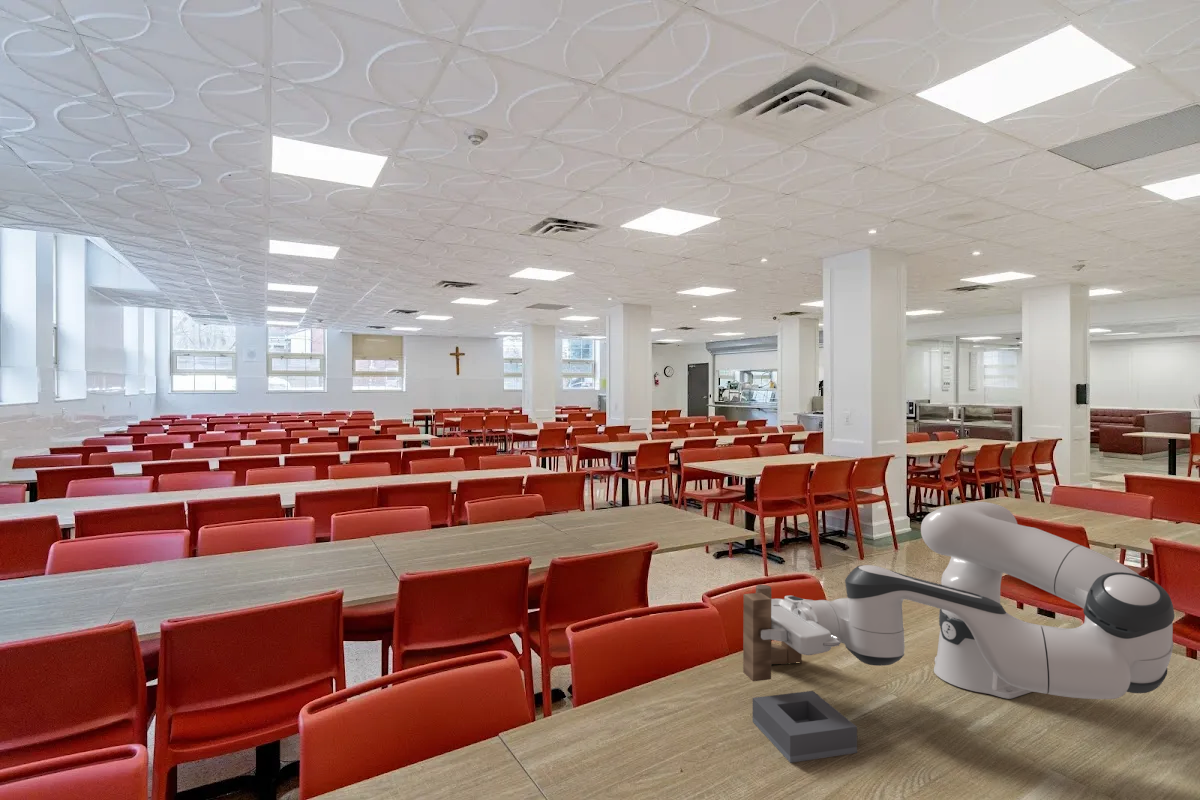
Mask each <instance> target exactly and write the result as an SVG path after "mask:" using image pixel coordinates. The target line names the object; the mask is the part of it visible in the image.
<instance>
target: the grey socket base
mask: <svg viewBox="0 0 1200 800" xmlns="http://www.w3.org/2000/svg"><path fill="white" fill-rule="evenodd" d="M752 723H753V724H754V725H755V726H756V727H757V728H758V729H759V731H760V732H761V733H762V734H763V735H764V736H765V737H766V738H767V739H768V740H769V741H770V742H771V743H772V744H773V746H774V747H775V748H776V749H777V750H778V751H779V753H781V754H782V756H783V757H784V758H786V760H787V762H789V763H791V764H792V763H797V762H799V763H800V762H804V761H805V762H806V761H812V760H818V759H823V758H830V757H838V756H845V755H853V754H857V753H858V726H857V725H856V724H854V723H853V722H852V721H850V720H849V719H848V718H847V717H846V716H845V715H843V714H842V713H841V712H839V710H837V709H836V708H835V707H834V706H832V705H831V704H830V703H828V702H827V701H826V700H825V699H823V698H822V697H821V696H820V695H818V694H817V693H816V692H815V691H814V690H807V691H801V692H799V691H798V692H791V693H783V694H781V693H780V694H775V695H773V694H772V695H767V696H766V695H765V696H757V697H756V696H755V697H752Z"/></svg>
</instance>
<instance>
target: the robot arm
mask: <svg viewBox="0 0 1200 800" xmlns="http://www.w3.org/2000/svg"><path fill="white" fill-rule="evenodd" d="M920 534H921V538H922V540H923V542H924V544H925V545H926V547H928V548H929V549H930V550H931V551H933V552H934V553H936V554H938V555H941V556H946V557H950V559H949V561H948V564H947V566H946V568H945V569H944V571H943V572H942V575H941V579H940V581H941V583H936V582H932V581H929V580H925V579H921V578H917V577H913V576H909V575H906V574H904V573H903V574H902V573H900V572H896V571H893V570H890V569H888V568H885V567H881V566H878V565H872V564H863V565H862V564H861V565H857V566H856V567H855V568H853V570H851V571H850V572H849V573H848V574H847V576H846V578H845V579H844V583H845V590H846V597H842V598H835V599H833V600H826V599H818V600H813V599H805V598H801V597H798V596H794V595H785V596H784V598H771V629H768V628H760V629H759V630H758V632H759V634H758V635H759V637H760V638H762V639H763V640H768V639H771V641H776V642H781V641H783V642H785V643H786V644H787V645H789V646H790V647H792V648H793V649H794V650H796V651H797V652H798V653H800V654H802V656H803V655H804V656H812V655H818V654H823V653H827V652H829V651H831V649H832V648H833V647H839V646H840V644H844V645H845V648H846V649H847V650H848V652H850V653H851V655H853V656H854V657H855V658H856V659H857V660H858V661H860V662H861V663H863V664H865V665H869V666H877V667H878V666H880V667H881V666H890V665H893V664H895V663H897V662H899V661H900V660H901V659H903V657H904V656H905V629H904V621H903V620H904V618H903V617H904V616H903V601H905V600H907V601H911V602H914V603H918V604H922V605H925V606H928V607H933V608H936V609H939V615H938V619H939V623H938V625H939V628H940V630H939V636H938V644H937V654H936V656H935V657H934V663H935V664H934V667H933V672H934V674H935V675H936V676H937V677H938V678H940V679H941V680H942V681H944V682H946V683H948V684H950V685H952V686H955V687H958V688H961V689H964V690H967V691H971V692H976V693H982V694H988V695H992V696H996V697H999V698H1002V699H1007V700H1008V699H1009V700H1010V699H1011V700H1012V699H1015V698H1017V697H1020V696H1023V695H1027V694H1029V693H1032V692H1034V693H1041V694H1045V695H1046V694H1047V695H1052V696H1059V697H1066V698H1073V699H1074V698H1075V699H1089V700H1115V699H1119V698H1120V697H1123V696H1124V695H1125V694H1126V693H1131V694H1146V693H1147V694H1148V693H1151V692H1153V691H1155V690H1156V689H1158V688H1159V687H1160V686H1161V685H1162V684H1163V682H1164V681H1165V679H1166V677H1167V675H1168V666H1169V664H1170V661H1171V657H1172V654H1173V650H1174V649H1173V648H1174V641H1173V640H1174V639H1173V635H1174V634H1173V632H1174V631H1173V630H1174V627H1173V622H1174V620H1175V611H1174V609H1175V608H1174V603H1173V601H1172V599H1171V596H1170V594H1169V593H1168V592H1167V591H1166V589H1165V588H1163V586H1161V585H1160V584H1159V583H1157V582H1155V581H1154V580H1152V579H1150V578H1147V577H1145V576H1142V575H1140V574H1139V573H1137V572H1136V571H1135V570H1132V569H1131V568H1130V567H1128V566H1125V565H1124V564H1122V563H1120V562H1118V561H1117V560H1115V559H1113V558H1111V557H1109V556H1107V555H1104V554H1102V553H1100V552H1099V551H1095V550H1094V549H1092V548H1091V549H1090V548H1089V547H1086V546H1084V545H1082V544H1081V545H1080V544H1079V543H1076V542H1075V541H1074V542H1073V541H1071V540H1069V539H1065V538H1063V537H1060V536H1058V535H1055V534H1052V533H1050V532H1047V531H1044V530H1042V529H1039V528H1037V527H1031V526H1026V525H1022V524H1018V521H1017V519H1016V517H1015V516H1014V514H1013V512H1012V511H1010V510H1009V509H1008V508H1006V507H1005V506H1003V505H1000V504H997V503H992V502H986V501H974V502H967V503H961V504H953V505H946V506H942V507H939V508H937V509H934V510H933V511H931V512H929V513H928V514H926V515H925V516H924V518H923V519H922V521H921V525H920ZM1003 574H1006V575H1008V576H1010V577H1013V578H1016V579H1019V580H1021V581H1023V582H1026V583H1027V584H1030V585H1032V586H1033V587H1037V588H1039V589H1041V590H1043V591H1045V592H1047V593H1049V594H1052V595H1053V596H1056V597H1058V598H1061V599H1063V600H1065V601H1067V602H1069V603H1072V604H1074V605H1076V606H1078V607H1080V608H1081V609H1082V611H1083V612H1082V613H1083V614H1084V621H1083V623H1082V624H1081V625H1080V626H1077V627H1074V628H1073V627H1072V628H1070V627H1069V628H1068V627H1067V628H1065V627H1055V626H1051V625H1045V624H1044V625H1043V624H1037V623H1036V624H1035V623H1032V622H1031V623H1030V622H1028V621H1024V620H1023V619H1020V618H1017V617H1015V616H1014V615H1012V614H1009V613H1008V611H1007V612H1006V610H1005V608H1004V606H1003V605H1002V604H1001V586H1002V579H1003V578H1002V577H1003Z"/></svg>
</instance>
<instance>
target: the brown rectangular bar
mask: <svg viewBox="0 0 1200 800" xmlns="http://www.w3.org/2000/svg"><path fill="white" fill-rule="evenodd" d="M771 599H772V598H771ZM771 599H770V598H769V597H767V596H766V595H764V594H762V593H756V592H754V593H752V592H751V593H743V611H742V612H743V613H742V614H743V617H742V619H743V622H742V623H743V630H742V631H743V636H742V639H743V645H742V648H743V649H742V651H743V652H742V653H743V654H742V657H743V658H742V660H743V662H742V666H743V667H742V670H743V671H742V672H743V674H745V675H746V676H747V678H748V679H750V680H751V681H752V682H760V681H761V682H762V681H767V680H772V665H771V644H772V640H771V639H768V640H763V639H762V638H760V637H759V635H758V634H759V632H758V630H759V629H760V628H768V629H771Z"/></svg>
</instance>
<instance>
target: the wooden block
mask: <svg viewBox="0 0 1200 800" xmlns="http://www.w3.org/2000/svg"><path fill="white" fill-rule="evenodd" d="M755 593H762V594H764V595H766V596H767V597H769V598H770V599H772V587H771V586H770V585H768V584H757V585H756V587H755ZM780 642H781V643H780V644H781V645H780V644H776V643H771V664H781V665H787V664H786V663H796V662H801V663H802V661H803V660H802V659H803V658H802V657H803V654H800V653H798V652H797V651H796V650H794V649H793V648H792V647H790V646H789V645H787V644H786V643H785V642H783V641H780Z"/></svg>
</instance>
